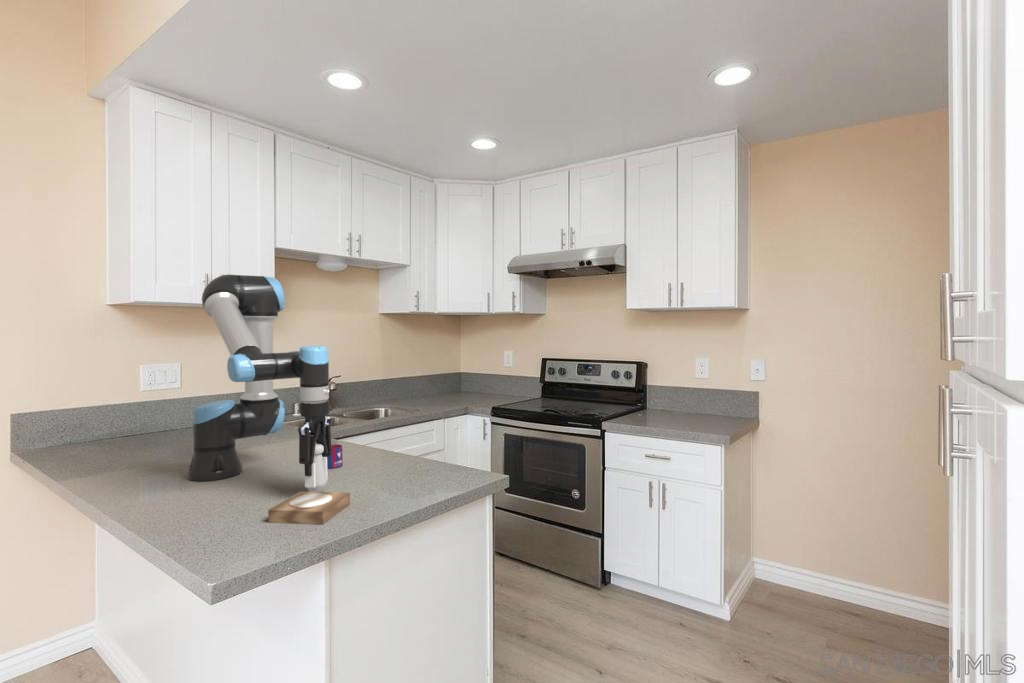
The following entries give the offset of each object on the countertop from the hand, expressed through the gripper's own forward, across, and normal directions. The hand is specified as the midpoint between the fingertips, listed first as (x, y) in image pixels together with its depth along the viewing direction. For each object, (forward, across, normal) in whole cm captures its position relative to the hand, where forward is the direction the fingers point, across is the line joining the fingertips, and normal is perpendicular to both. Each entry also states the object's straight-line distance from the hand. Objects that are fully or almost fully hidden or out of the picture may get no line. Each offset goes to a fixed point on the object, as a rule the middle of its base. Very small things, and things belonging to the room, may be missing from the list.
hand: (316, 483), depth 144 cm
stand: (+3, -14, -6) cm, 16 cm away
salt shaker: (+2, 0, 0) cm, 2 cm away
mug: (+4, +29, +12) cm, 31 cm away
